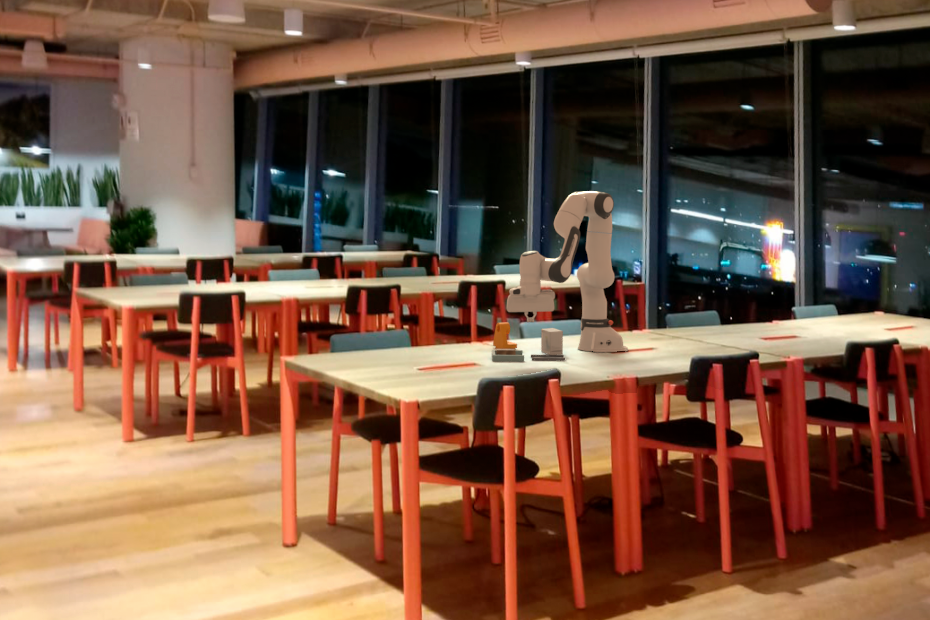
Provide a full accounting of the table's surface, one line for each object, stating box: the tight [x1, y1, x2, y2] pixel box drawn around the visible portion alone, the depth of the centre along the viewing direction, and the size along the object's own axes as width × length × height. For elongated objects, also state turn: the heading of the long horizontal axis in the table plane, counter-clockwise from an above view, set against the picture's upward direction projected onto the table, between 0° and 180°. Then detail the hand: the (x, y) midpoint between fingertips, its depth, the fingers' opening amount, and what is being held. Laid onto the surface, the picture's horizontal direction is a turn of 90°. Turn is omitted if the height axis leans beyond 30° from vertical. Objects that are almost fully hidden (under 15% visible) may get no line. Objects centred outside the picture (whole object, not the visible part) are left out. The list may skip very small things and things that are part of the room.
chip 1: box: [495, 348, 506, 355], centre depth 435 cm, size 4×4×4 cm
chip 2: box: [506, 348, 516, 355], centre depth 435 cm, size 4×4×4 cm
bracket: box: [492, 321, 518, 350], centre depth 463 cm, size 11×7×12 cm, turn 24°
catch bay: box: [491, 349, 525, 362], centre depth 435 cm, size 13×14×2 cm
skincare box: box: [540, 327, 564, 355], centre depth 452 cm, size 10×6×10 cm, turn 18°
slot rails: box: [530, 354, 566, 362], centre depth 435 cm, size 14×8×1 cm, turn 90°
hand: (530, 322), depth 434 cm, fingers closed
